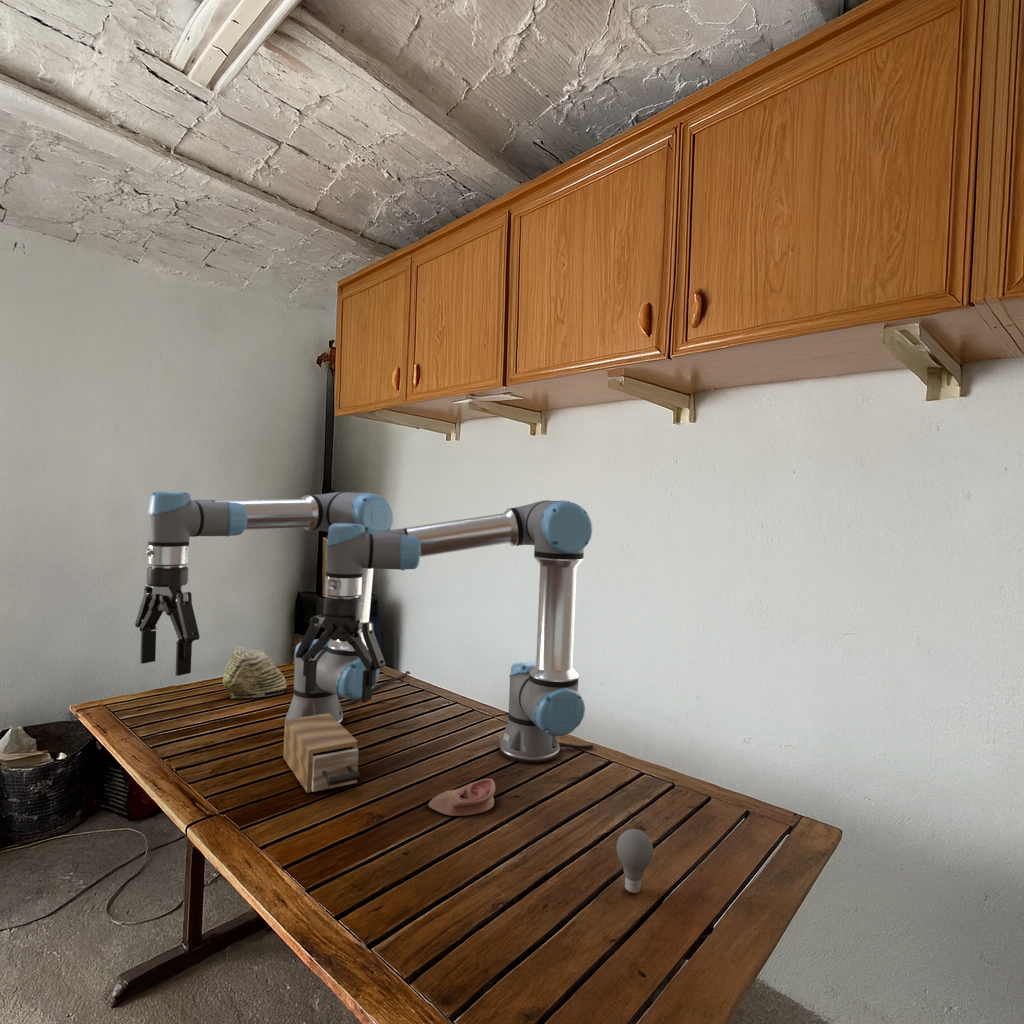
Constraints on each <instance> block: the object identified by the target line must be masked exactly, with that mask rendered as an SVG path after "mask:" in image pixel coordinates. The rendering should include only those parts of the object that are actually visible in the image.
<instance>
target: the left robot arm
mask: <svg viewBox="0 0 1024 1024" xmlns="http://www.w3.org/2000/svg"><path fill="white" fill-rule="evenodd" d="M147 515H148V518H147V521H148V525H147V551H146V553H145V554H146V556H147V565H149V566H148V567H147V569H146V585H145V586H144V587H143V594H142V595H143V596H142V600H141V603H140V606H139V610H138V613H137V616H136V619H135V622H134V626H135V628H138V630H139V632H140V661H139V663H140V664H142V665H143V664H149V663H155V662H156V654H157V653H156V651H157V648H156V647H157V629H158V628H157V626H156V625H157V624H158V622H159V620H160V618H161V616H162V615H163V612H164V613H165V614H166V615H167V616H169V618H170V621H171V623H172V625H173V628H174V631H175V634H176V636H177V641H176V642H175V648H176V649H175V676H177V677H178V676H184V675H188V674H191V673H192V655H193V653H192V652H193V651H192V650H193V642H194V641H197V640H200V632H199V628H198V624H197V620H196V614H195V610H194V606H193V599H192V592H191V591H186V592H183V591H182V587H183V586H185V585H187V584H188V582H189V568H188V566H186V565H188V564H189V563H190V561H189V560H190V538H191V537H192V538H195V537H231V536H232V537H233V536H240V535H241V534H243V533H244V531H246V530H267V529H268V530H269V529H270V530H271V529H289V528H290V529H291V528H293V529H294V528H302V529H303V530H304V531H318V532H319V531H320V532H326V533H328V530H329V527H330V526H331V525H332V524H334V523H350V524H362V525H363V526H364V527H365V533H368V534H374V533H376V532H377V531H380V530H392V526H393V521H394V517H393V510H392V507H391V506H390V504H389V503H388V501H387V500H386V499H385V498H384V497H383V496H381V495H380V494H376V493H371V492H369V491H368V492H363V491H362V492H352V491H351V492H350V491H336V492H335V491H334V492H328V493H321V494H306V495H303V496H302V497H301V498H258V499H257V498H255V499H243V498H242V499H237V498H236V499H192V498H191V494H190V493H189V492H188V491H166V490H165V491H164V490H156V491H153V492H151V494H150V496H149V501H148V511H147ZM373 580H374V569H363V571H362V592H361V595H360V596H358V597H360V599H361V610H360V616H359V620H360V623H366V622H369V621H370V617H371V616H370V615H371V601H372V592H373ZM358 633H359V634H360V636H361V638H362V641H363V643H364V645H365V646H366V648H367V645H366V643H365V640H364V637H363V633H362V632H361V629H359V630H358ZM353 638H354V637H353ZM318 639H319V638H317V639H316V638H315V639H314V641H313V643H312V645H311V647H312V646H313V645H314V644H315V643H316V642H317V641H318ZM300 644H301V642H299V643H297V645H296V646H295V650H294V655H293V657H294V672H293V673H294V674H293V695H292V696H293V697H292V699H291V702H290V704H289V708H288V711H287V713H286V715H285V720H287V719H294V718H300V717H307V716H314V715H320V714H327V713H330V714H331V715H332V716H333V717H334V718H335V719H336V720H337V721H338V722H339V723H340V724H341V725H342V723H343V722H344V714H343V709H342V707H346V706H350V705H352V704H354V703H356V702H359V701H360V700H362V681H363V671H364V670H367V669H366V668H365V666H364V664H363V663H362V661H361V660H360V658H359V657H358V655H357V653H356V652H355V650H354V649H353V647H352V646H351V645H350V644H349V643H348V642H347V641H345V642H342V641H339V640H332V639H330V640H329V641H328V643H327V644H326V645H325V646H324V647H323V648H322V649H321V650H320V652H319V653H318V654H317V655H316V656H315V657H314V658H315V659H312V661H313V660H317V670H316V690H315V691H313V692H310V693H308V694H307V693H305V682H306V676H304V675H303V664H304V662H303V660H302V659H301V658H297V657H296V656H295V654H296V652H297V650H298V648H299V646H300ZM311 647H310V649H311ZM310 649H309V650H310ZM367 649H368V648H367ZM407 675H411V672H410V671H409V670H407V671H406V672H405V673H404V674H402V675H400V676H398V677H395V678H392V679H389V680H386V681H384V682H382V683H379V684H377V683H378V680H379V678H380V669H377V670H376V683H375V685H373V686H372V692H373V691H374V690H377V689H378V688H380V687H382V686H385V685H387V684H391V683H393V682H395V681H399V680H401V679H404V678H405V677H407ZM376 684H377V685H376ZM339 698H341V699H347V700H351V701H347V702H345V703H341V702H340V699H339Z"/></svg>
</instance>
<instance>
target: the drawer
mask: <svg viewBox="0 0 1024 1024" xmlns="http://www.w3.org/2000/svg"><path fill="white" fill-rule="evenodd" d="M358 768H359V749H358V747H357V748H355V749H350V747H347V748H342V749H336V750H331V751H325V752H320V753H314V754H313V768H312V791H313V792H312V793H315V792H321V791H325V790H330V789H334V788H339V787H345V786H348V785H352V784H357V783H358V781H359V779H360V772H359V770H358Z"/></svg>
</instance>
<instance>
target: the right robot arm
mask: <svg viewBox="0 0 1024 1024" xmlns="http://www.w3.org/2000/svg"><path fill="white" fill-rule="evenodd" d="M592 536H593V523H592V518H591V516H590V515H589V513H588V512H587V511H586V509H584V507H582V506H581V505H580V504H578V503H576V502H571V501H570V500H564V499H563V500H550V499H549V500H547V499H546V500H540V501H536V502H532V503H529V504H525V505H520V506H514V507H510V508H507V509H505V511H504V512H503V513H496V514H489V515H483V516H476V517H470V518H463V519H455V520H449V521H442V522H435V523H429V524H423V525H416V526H409V527H404V528H396V529H395V528H394V529H390V530H380V531H377V532H376V533H374V534H368V533H365V527H364V526H363V525H362V524H350V523H334V524H332V525H331V526H330V527H329V530H328V532H327V542H326V560H325V579H324V580H325V582H324V595H326V596H325V598H324V600H323V614H324V617H323V616H322V615H321V614H318V615H314V616H311V617H310V621H309V626H308V629H307V630H306V633H305V635H304V636H303V638H302V640H301V641H300V643H301V644H300V646H299V648H298V650H297V652H296V654H295V653H294V656H296V657H297V658H301V659H302V660H303V662H304V664H303V675H304V676H306V682H305V693H307V694H308V693H310V692H313V691H315V690H316V670H317V660H313V661H312V659H315V658H314V657H315V656H316V655H317V654H318V653H319V652H320V650H321V649H322V648H323V647H324V646H325V645H326V644H327V643H328V641H329V640H330V639H332V640H339V641H342V642H345V641H347V642H348V643H349V644H350V645H351V646H352V647H353V649H354V650H355V652H356V653H357V655H358V657H359V658H360V660H361V661H362V663H363V664H364V666H365V668H366V669H367V670H364V671H363V681H362V698H361V699H360V700H361V703H363V704H365V703H367V702H370V700H372V694H373V691H372V686H373V685H375V683H376V670H377V669H379V670H380V669H382V668H384V667H385V666H386V661H385V659H384V656H383V654H382V651H381V648H380V645H379V643H378V640H377V637H376V634H375V632H374V631H375V630H374V629H375V628H374V622H373V621H371V620H369V622H366V623H360V620H359V616H360V610H361V599H360V597H358V596H360V595H361V592H362V571H363V569H375V570H378V569H379V570H400V571H405V570H416V569H417V568H418V567H419V566H420V561H421V558H424V557H431V556H436V555H442V554H451V553H454V552H455V553H456V552H461V551H467V550H475V549H482V548H487V547H488V548H489V547H495V546H500V545H507V544H509V546H511V547H518V546H519V547H520V546H534V549H533V550H534V551H533V558H534V559H535V560H536V561H537V563H538V564H539V583H538V584H539V589H538V608H537V609H538V614H537V633H536V635H537V637H536V659H535V660H525V661H518V662H514V663H513V664H512V665H511V666H510V673H509V690H508V692H509V693H508V718H507V723H506V725H505V729H504V731H503V734H502V737H501V739H500V742H499V752H500V754H501V755H502V756H504V757H505V758H506V759H508V760H511V761H514V762H519V763H525V764H544V763H547V762H551V761H554V760H555V759H557V758H558V757H559V755H560V747H563V748H571V749H577V750H578V749H579V750H587V749H588V750H589V749H594V745H593V744H587V745H585V744H584V745H581V744H580V745H577V744H571V743H565V742H564V743H563V742H559V738H558V737H563V736H567V735H570V734H571V733H572V732H574V730H576V729H577V727H579V726H580V724H581V723H582V721H583V719H584V718H585V714H586V713H585V712H586V705H585V701H584V699H583V697H582V695H581V694H580V693H579V673H578V672H577V670H576V669H574V667H573V664H574V663H573V662H574V661H573V660H574V641H575V639H574V636H575V613H576V591H577V590H576V589H577V568H578V565H580V564H581V563H582V561H584V557H585V554H584V553H585V548H586V547H587V546H588V544H589V543H590V542H591V540H592ZM322 626H323V628H324V631H323V632H322V634H321V635H319V638H317V639H318V641H317V642H316V643H315V644H314V645H313V646H312V647H311V645H312V643H313V641H314V640H316V637H317V635H318V633H319V631H320V629H321V627H322ZM359 629H361V632H362V633H363V637H364V640H365V643H366V645H367V648H368V649H367V648H366V646H365V645H364V643H363V641H362V638H361V636H360V634H359V633H358V630H359ZM353 637H354V638H353ZM310 647H311V649H310ZM309 649H310V650H309ZM376 684H377V683H376ZM375 686H376V685H375Z"/></svg>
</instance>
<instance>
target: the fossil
mask: <svg viewBox="0 0 1024 1024" xmlns="http://www.w3.org/2000/svg"><path fill="white" fill-rule="evenodd" d="M222 676H223V677H222V685H223V687H224V688H225V690H226V691H228V693H229V698H230V699H250V698H264V697H271V696H275V695H281V694H284V693H285V691H286V689H287V687H288V686H287V680H286V678H285V676H284V674H283V673H282V672H281V669H279V668H278V667H277V665H276V663H275V662H274V660H273V659H272V658H271V657H270V656H269V655H268V654H267V653H266V652H265V650H264V649H263V648H260V647H258V648H251V647H247V646H246V647H245V646H238V647H237V648H236V649H235V650H233V651H232V653H231V656H230V657H229V659H228V660H227V663H226V666H225V668H224V671H223V675H222Z"/></svg>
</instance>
